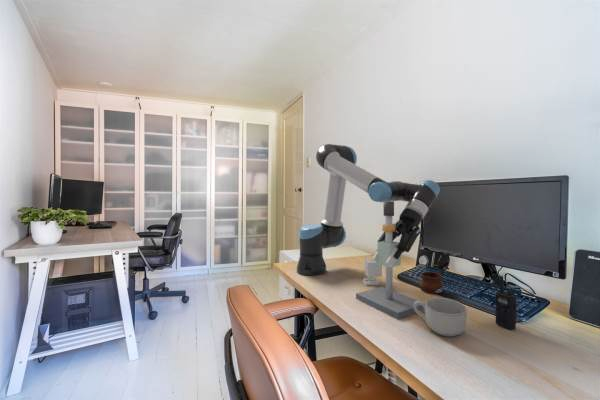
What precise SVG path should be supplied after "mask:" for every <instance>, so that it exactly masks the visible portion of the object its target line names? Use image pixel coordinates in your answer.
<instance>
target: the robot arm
mask: <svg viewBox="0 0 600 400" xmlns="http://www.w3.org/2000/svg"><path fill="white" fill-rule="evenodd" d="M315 159H316V162H317V164H318V165H319V166H320V167H321V168H323V170H326V171H327V172H328V173H329V180H328V181H329V182H328V188H327V189H328V190H327V195H326V197H327V198H326V204H325V212H324V218H323V219H322V220H320V221H321V222H320V224H319V223H317V224H316V223H314V224H307V225H303V226H302V227H301V228H300V229H299V235H298V238H299V259H298V261H297V265H296V272H297V274H299V273H300V275H303V274H304V275H305V276H318V275H323V274H325V273H326V272H327V264H326V261H325V259H324V256H323V255H324V254H323V252H324V251H323V249H328V248H335V247H337V246H340V245H343V243H344V242H345V239H346V235H347V233H346V229H345V227H344V225H343V222H342V213H343V207H344V206H343V204H344V197H345V192H346V191H345V190H346V183H347V182H346V181H348V182H349V183H351V184H353V185H354V186H356V187H357V188H359V189H361V190H362V191H363V192H365V193H367V194H368V197H369V198H370V199H371V200H372V201H373V202H376V203H377V202H379V203H384V201H394V202H399V201H400V202H402V201H403V202H407V204H406V205H405V207H404V209H403V210H402V212H401V213H400V214H399V219H398V220H397V221H396V222H395V223H392V225H395V231H394V232H392V241H395V239H396V238H397V237H400V239H399V245H398V246H397V248H398V249H397V248H395V249H394V250H393V252H392V253H391V255H390V256H389V258H388V260H387V261H386V263H387V265H388V266H389V267H392V266H393V264H394V263H395V261H396V259H398V258H399V257H400V255H401V256H402V254H403V253H405V252H406V253H409V252H410V251H411V249H412V247H413V246H414V243H415V242H416V240H417V238H418V237H419V235H420V234H422V233H423V231H422V230H421V228H420V225H421V223H422V221H423V219H424V218H425V216H426V214H427V213H428V212H429V209H430V208H431V206H432V205H433V203H434V202H435V200H436V199H437V198H438V195H439V193H440V191H441V188H440V185H439V184H438V183H437V182H436V181H434V180H431V179H426V180H422V182H420V184H417V183H410V182H409V183H408V182H404V181H393V180H392V181H391V182H389V181H385V180H384V179H381V178H380V177H378V176H376V175H374V174H373V173H371V172H369V171H367V170H366V169H364V168H363V167H360V166H358V165H357V159H358V158H357V153H356V151H355V150H354V149H353V148H352V147H350V146H347V145H339V144H332V143H331V144H330V143H326V144H323V145H322V146H320V147H319V148H318V149H317V152H316V154H315ZM381 241H385V231H383V233H382V234H381V236H380V237H379V239H378V240H377V243H378V242H381ZM371 259H373V260H374V261H375V262H376V263H378V248H377V249H376V251H375V253H374V255H373V257H372V258H371ZM304 275H303V276H304Z"/></svg>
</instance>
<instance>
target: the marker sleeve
mask: <svg viewBox="0 0 600 400" xmlns="http://www.w3.org/2000/svg"><path fill="white" fill-rule="evenodd" d="M399 242H400V241H399ZM399 242H398V241H395V240H393V241H392V243H390V244H389V243H385V241H381V242H378V241H377V249H378V264H380V265H382V267H383V266H384V267H385V268H386V267H389V266H388V265H387V263H386V261H387V260H388V258H389V256H390V255H391V253H392V252H393V250H394V249H395V248H397V246H398V245H399ZM397 249H398V248H397ZM401 256H402V254H401V255H400V257H399V258H398V259H396V261H395V263H394V264H393V266H392V267H397V266H398V267H399V266H401V265H402V262H401V261H402V260H401V259H402V257H401Z"/></svg>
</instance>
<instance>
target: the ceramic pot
mask: <svg viewBox="0 0 600 400" xmlns="http://www.w3.org/2000/svg"><path fill="white" fill-rule="evenodd" d="M420 278H421V280H420V282H419V289H420V290H421V291H422V292H424V293H427V294H433V295H435V291H436V290H438V289H440V288H442V287H443V288H444V285H443V283H442V281H443V275H442V274H441V273H439V272H435V271H425V272H420Z"/></svg>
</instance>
